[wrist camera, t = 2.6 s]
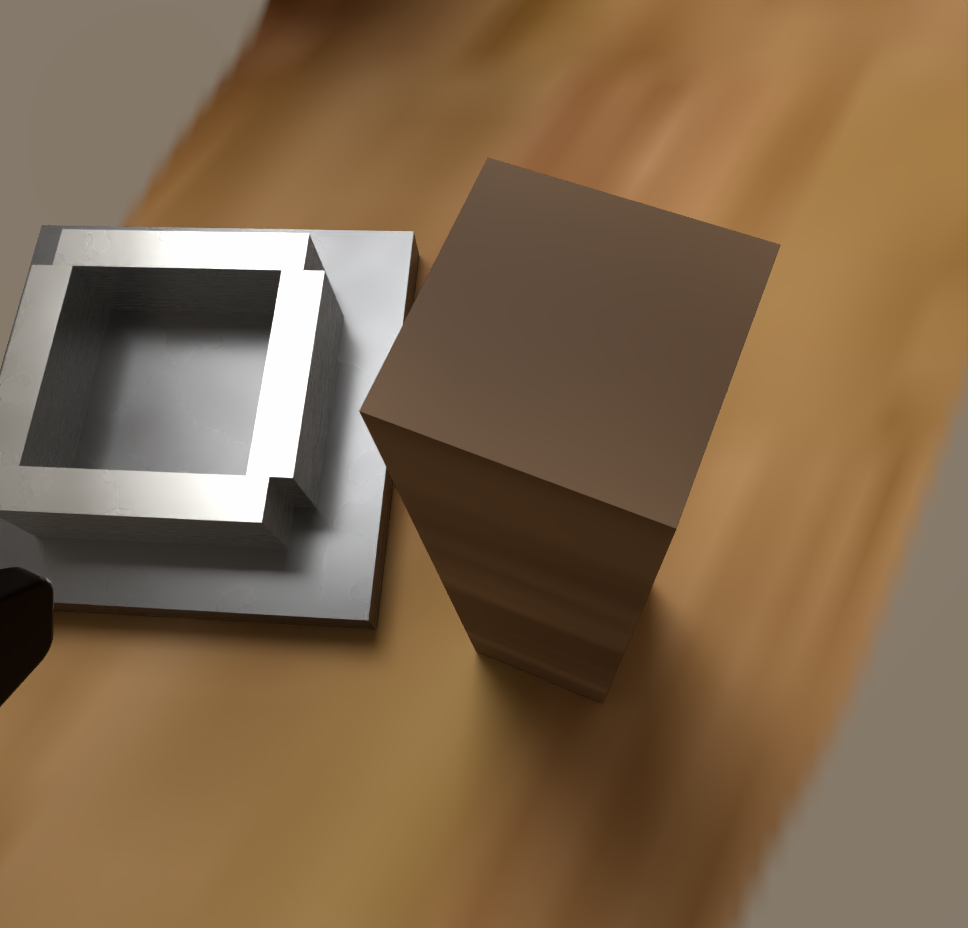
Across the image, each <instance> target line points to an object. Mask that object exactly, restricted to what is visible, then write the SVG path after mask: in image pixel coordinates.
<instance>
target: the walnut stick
mask: <svg viewBox="0 0 968 928" xmlns="http://www.w3.org/2000/svg"><path fill="white" fill-rule="evenodd" d="M779 248H780V244H776V243H773V242H770V241H766V240H763V239H760V238H756V237H753V236H749V235H746V234H743V233H739V232H736V231H733V230H729V229H726V228H723V227H719V226H716V225H713V224H709V223H706V222H702V221H699V220H696V219H692V218H689V217H686V216H682V215H679V214H676V213H672V212H669V211H666V210H662V209H659V208H655V207H652V206H649V205H645V204H642V203H639V202H635V201H632V200H629V199H625V198H622V197H618V196H615V195H612V194H608V193H605V192H602V191H598V190H595V189H592V188H588V187H585V186H582V185H578V184H575V183H571V182H568V181H565V180H561V179H558V178H555V177H551V176H548V175H545V174H541V173H538V172H535V171H531V170H528V169H524V168H521V167H518V166H514V165H511V164H508V163H504V162H501V161H498V160H494V159H491V158H487V160H486V162H485V164H484V166H483V168H482V170H481V172H480V174H479V176H478V178H477V180H476V182H475V184H474V186H473V188H472V190H471V192H470V194H469V196H468V198H467V199H466V201H465V203H464V205H463V207H462V209H461V211H460V213H459V215H458V217H457V219H456V221H455V223H454V225H453V227H452V229H451V231H450V233H449V235H448V237H447V239H446V241H445V243H444V245H443V247H442V249H441V251H440V253H439V255H438V257H437V259H436V261H435V262H434V264H433V266H432V268H431V270H430V272H429V274H428V276H427V278H426V280H425V282H424V284H423V286H422V288H421V290H420V292H419V294H418V296H417V298H416V300H415V302H414V304H413V306H412V308H411V310H410V312H409V314H408V316H407V318H406V320H405V322H404V323H403V325H402V327H401V329H400V331H399V333H398V335H397V337H396V339H395V341H394V343H393V345H392V347H391V349H390V351H389V353H388V355H387V357H386V359H385V361H384V363H383V365H382V367H381V369H380V371H379V373H378V375H377V377H376V379H375V381H374V383H373V384H372V386H371V388H370V390H369V392H368V394H367V396H366V398H365V400H364V402H363V404H362V406H361V408H360V410H359V412H360V414H361V416H362V418H363V420H364V422H365V424H366V426H367V428H368V431H369V433H370V435H371V437H372V439H373V441H374V443H375V445H376V447H377V449H378V451H379V453H380V455H381V457H382V459H383V461H384V463H385V465H386V468H387V470H388V472H389V474H390V476H391V478H392V480H393V482H394V484H395V486H396V488H397V490H398V492H399V494H400V496H401V498H402V500H403V502H404V505H405V507H406V509H407V511H408V513H409V515H410V517H411V519H412V521H413V523H414V525H415V527H416V529H417V531H418V533H419V535H420V537H421V540H422V542H423V544H424V546H425V548H426V550H427V552H428V554H429V556H430V558H431V560H432V562H433V564H434V566H435V568H436V570H437V572H438V574H439V577H440V579H441V581H442V583H443V585H444V587H445V589H446V591H447V593H448V595H449V597H450V599H451V601H452V603H453V605H454V607H455V609H456V611H457V614H458V616H459V618H460V620H461V622H462V624H463V626H464V628H465V630H466V632H467V634H468V636H469V638H470V640H471V642H472V644H473V646H474V649H475V651H477V652H480V653H482V654H484V655H487V656H489V657H492V658H494V659H496V660H499V661H501V662H504V663H506V664H508V665H511V666H513V667H516V668H518V669H520V670H523V671H525V672H527V673H530V674H532V675H535V676H537V677H539V678H542V679H544V680H547V681H549V682H551V683H554V684H556V685H559V686H561V687H563V688H566V689H568V690H570V691H573V692H575V693H578V694H580V695H582V696H585V697H587V698H590V699H592V700H594V701H597V702H599V703H603V701H604V699H605V696H606V694H607V692H608V689H609V687H610V685H611V682H612V680H613V677H614V675H615V673H616V670H617V668H618V666H619V663H620V661H621V659H622V656H623V654H624V651H625V649H626V647H627V644H628V642H629V640H630V637H631V635H632V633H633V630H634V628H635V625H636V623H637V621H638V618H639V616H640V614H641V611H642V609H643V607H644V604H645V602H646V599H647V597H648V595H649V592H650V590H651V588H652V585H653V583H654V581H655V578H656V576H657V573H658V571H659V569H660V566H661V564H662V562H663V559H664V557H665V555H666V552H667V550H668V547H669V545H670V543H671V540H672V538H673V536H674V533H675V531H676V529H677V526H678V523H679V520H680V518H681V515H682V512H683V509H684V507H685V504H686V501H687V499H688V496H689V493H690V490H691V488H692V485H693V482H694V479H695V477H696V474H697V471H698V469H699V466H700V463H701V460H702V458H703V455H704V452H705V450H706V447H707V444H708V441H709V439H710V436H711V433H712V430H713V428H714V425H715V422H716V420H717V417H718V414H719V411H720V409H721V406H722V403H723V400H724V398H725V395H726V392H727V390H728V387H729V384H730V381H731V379H732V376H733V373H734V371H735V368H736V365H737V362H738V360H739V357H740V354H741V351H742V349H743V346H744V343H745V341H746V338H747V335H748V332H749V330H750V327H751V324H752V321H753V319H754V316H755V313H756V311H757V308H758V305H759V302H760V300H761V297H762V294H763V292H764V289H765V286H766V283H767V281H768V278H769V275H770V272H771V270H772V267H773V264H774V262H775V259H776V256H777V253H778V251H779Z"/></svg>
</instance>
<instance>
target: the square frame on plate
mask: <svg viewBox="0 0 968 928" xmlns="http://www.w3.org/2000/svg"><path fill="white" fill-rule="evenodd" d="M418 258H419V252H418V248H417V244H416V240H415V235H414V232H412V231H352V230H291V229H231V228H170V227H110V226H50V225H47V226H46V225H45V226H44V225H42V227H41V230H40V234H39V237H38V241H37V244H36V248H35V251H34V255H33V258H32V262H31V265H30V269H29V272H28V276H27V279H26V283H25V286H24V289H23V293H22V296H21V300H20V303H19V307H18V310H17V314H16V318H15V321H14V324H13V328H12V331H11V335H10V338H9V342H8V345H7V349H6V352H5V355H4V359H3V362H2V366H1V369H0V569H4V568H9V567H21V568H25V569H27V570H29V571H32V572H34V573H36V574H38V575H40V576H43V577H45V578H47V579H48V580H49V581H50V582H51V584H52V586H53V589H54V610H56V611H73V612H90V613H107V614H125V615H142V616H159V617H176V618H193V619H211V620H228V621H245V622H262V623H279V624H297V625H314V626H331V627H348V628H366V629H377V622H378V613H379V604H380V595H381V587H382V578H383V569H384V560H385V551H386V542H387V533H388V525H389V516H390V507H391V498H392V489H393V480H392V478H391V476H390V474H389V472H388V470H387V468H386V465H385V463H384V461H383V459H382V457H381V455H380V453H379V451H378V449H377V447H376V445H375V443H374V441H373V439H372V437H371V435H370V433H369V431H368V428H367V426H366V424H365V422H364V420H363V418H362V416H361V414H360V412H359V410H360V408H361V406H362V404H363V402H364V400H365V398H366V396H367V394H368V392H369V390H370V388H371V386H372V384H373V383H374V381H375V379H376V377H377V375H378V373H379V371H380V369H381V367H382V365H383V363H384V361H385V359H386V357H387V355H388V353H389V351H390V349H391V347H392V345H393V343H394V341H395V339H396V337H397V335H398V333H399V331H400V329H401V327H402V325H403V323H404V322H405V320H406V318H407V316H408V314H409V312H410V310H411V308H412V306H413V303H414V294H415V285H416V276H417V267H418Z"/></svg>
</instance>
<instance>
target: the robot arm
mask: <svg viewBox="0 0 968 928" xmlns="http://www.w3.org/2000/svg"><path fill="white" fill-rule="evenodd" d="M53 613H54V589H53V586H52V584H51V582H50V581H49V580H48V579H47V578H45V577H43V576H40V575H38V574H36V573H34V572H32V571H29V570H27V569H25V568H21V567H9V568H4V569H0V707H1V705H2V704H3V703H4V702H5V701H6V700H7V699H8V698H9V697H10V696H11V694H12V693H13V692H14V691H15V690H16V689H17V688H18V687H19V686H20V684H21V683H22V682H23V681H24V680H25V679H26V678H27V677H28V676H29V675H30V673H31V672H32V671H33V670H34V669H35V668H36V667H37V666H38V665H39V663H40V662H41V661H42V660H43V659H44V657H45V656H46V654H47V653H48V651H49V649H50V646H51V643H52V640H53Z"/></svg>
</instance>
